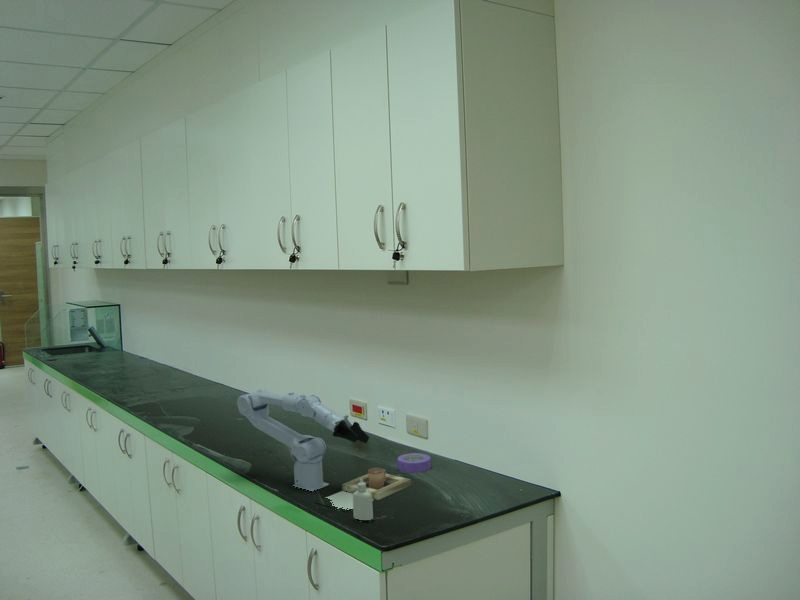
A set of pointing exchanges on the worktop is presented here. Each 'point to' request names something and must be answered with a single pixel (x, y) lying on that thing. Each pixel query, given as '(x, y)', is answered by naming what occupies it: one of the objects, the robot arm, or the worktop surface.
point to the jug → (376, 478)
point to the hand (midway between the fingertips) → (362, 439)
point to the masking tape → (414, 462)
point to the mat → (342, 500)
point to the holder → (394, 486)
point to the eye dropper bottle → (362, 503)
